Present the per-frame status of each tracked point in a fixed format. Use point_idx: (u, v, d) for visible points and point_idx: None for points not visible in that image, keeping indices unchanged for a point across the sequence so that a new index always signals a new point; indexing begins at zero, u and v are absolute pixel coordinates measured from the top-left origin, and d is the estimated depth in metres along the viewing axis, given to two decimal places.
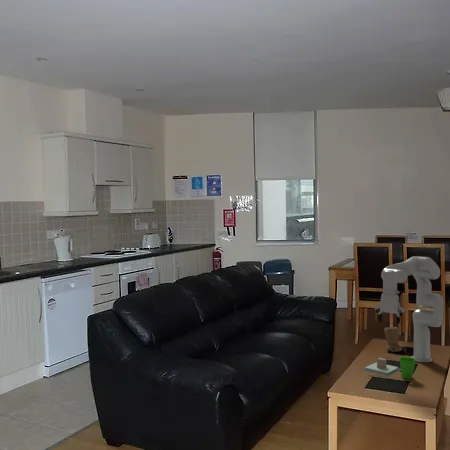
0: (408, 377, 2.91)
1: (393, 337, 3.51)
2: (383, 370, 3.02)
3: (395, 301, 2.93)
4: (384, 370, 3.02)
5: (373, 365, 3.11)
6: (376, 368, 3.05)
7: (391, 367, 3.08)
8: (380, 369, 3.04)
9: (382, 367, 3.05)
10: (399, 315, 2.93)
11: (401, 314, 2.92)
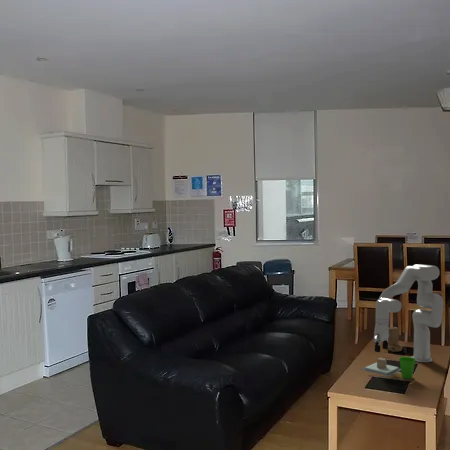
0: (408, 377, 2.91)
1: (393, 337, 3.51)
2: (383, 370, 3.02)
3: (388, 328, 3.08)
4: (384, 370, 3.02)
5: (373, 365, 3.11)
6: (376, 368, 3.05)
7: (391, 367, 3.08)
8: (380, 369, 3.04)
9: (382, 367, 3.05)
10: None
11: (388, 339, 3.12)
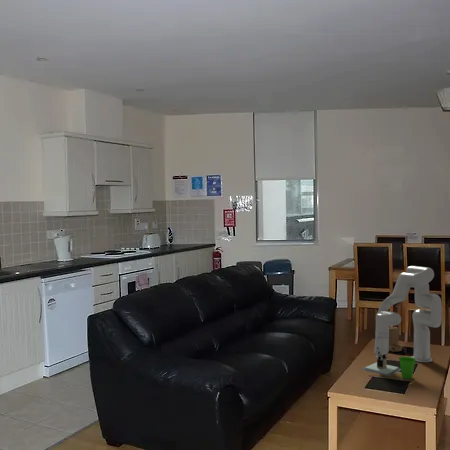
0: (408, 377, 2.91)
1: (393, 337, 3.51)
2: (383, 370, 3.02)
3: (388, 341, 3.09)
4: (384, 370, 3.02)
5: (373, 365, 3.11)
6: (376, 368, 3.05)
7: (391, 367, 3.08)
8: (380, 369, 3.04)
9: (382, 367, 3.05)
10: (386, 357, 3.09)
11: (386, 355, 3.10)
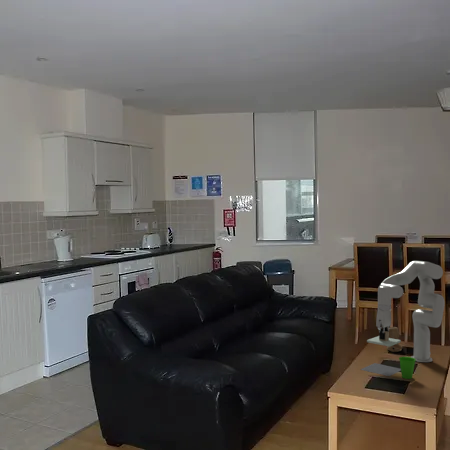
0: (408, 377, 2.91)
1: (393, 337, 3.51)
2: (385, 342, 3.00)
3: (390, 314, 3.07)
4: (386, 342, 3.00)
5: (375, 338, 3.10)
6: (378, 341, 3.04)
7: (393, 340, 3.06)
8: (382, 341, 3.02)
9: (384, 340, 3.04)
10: None
11: (388, 328, 3.09)
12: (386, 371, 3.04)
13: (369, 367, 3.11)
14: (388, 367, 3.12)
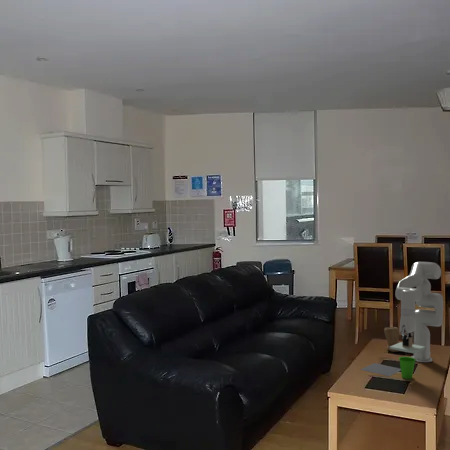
0: (408, 377, 2.91)
1: (393, 337, 3.51)
2: (409, 349, 2.87)
3: (414, 319, 2.94)
4: (410, 349, 2.87)
5: (398, 344, 2.96)
6: (402, 347, 2.91)
7: (417, 346, 2.93)
8: (406, 348, 2.89)
9: (408, 346, 2.90)
10: (412, 335, 2.94)
11: None
12: (386, 371, 3.04)
13: (369, 367, 3.11)
14: (388, 367, 3.12)
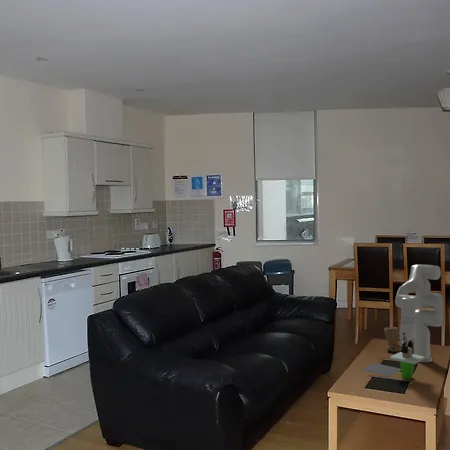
0: (408, 377, 2.91)
1: (393, 337, 3.51)
2: (409, 359, 2.87)
3: (414, 327, 2.94)
4: (410, 359, 2.87)
5: (398, 354, 2.97)
6: (401, 357, 2.91)
7: (417, 356, 2.93)
8: (406, 358, 2.89)
9: (408, 356, 2.91)
10: None
11: None
12: (386, 371, 3.04)
13: (369, 367, 3.11)
14: (388, 367, 3.12)
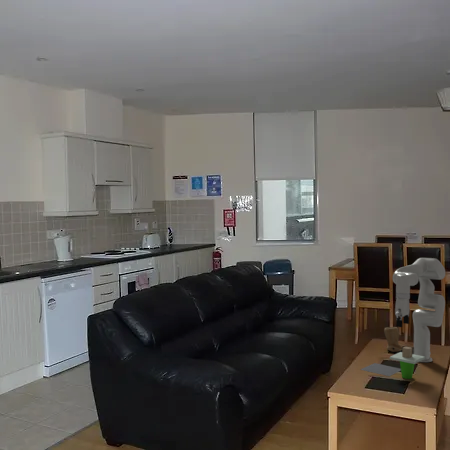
0: (408, 377, 2.91)
1: (393, 337, 3.51)
2: (409, 359, 2.87)
3: None
4: (410, 359, 2.87)
5: (398, 354, 2.97)
6: (401, 357, 2.91)
7: (417, 356, 2.93)
8: (406, 358, 2.89)
9: (408, 356, 2.91)
10: None
11: (408, 313, 3.08)
12: (386, 371, 3.04)
13: (369, 367, 3.11)
14: (388, 367, 3.12)
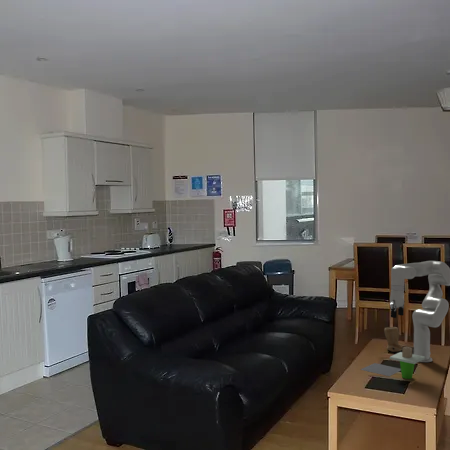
0: (408, 377, 2.91)
1: (393, 337, 3.51)
2: (409, 359, 2.87)
3: (403, 295, 3.15)
4: (410, 359, 2.87)
5: (398, 354, 2.97)
6: (401, 357, 2.91)
7: (417, 356, 2.93)
8: (406, 358, 2.89)
9: (408, 356, 2.91)
10: (403, 307, 3.18)
11: (403, 305, 3.19)
12: (386, 371, 3.04)
13: (369, 367, 3.11)
14: (388, 367, 3.12)
